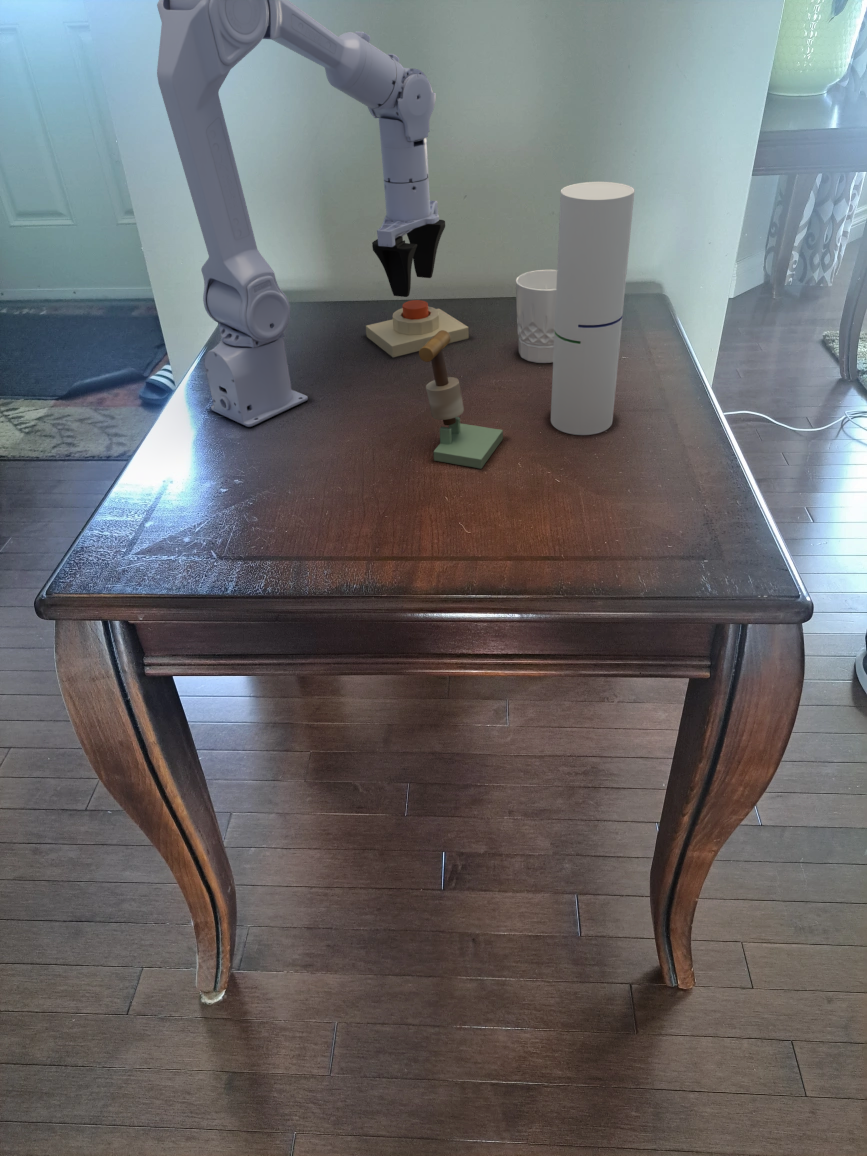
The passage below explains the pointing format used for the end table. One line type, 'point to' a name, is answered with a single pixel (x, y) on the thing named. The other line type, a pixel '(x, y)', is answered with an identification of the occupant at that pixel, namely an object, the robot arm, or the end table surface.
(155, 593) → the end table surface
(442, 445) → the stand
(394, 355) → the button box
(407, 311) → the call button
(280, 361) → the robot arm
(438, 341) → the t-handle lever
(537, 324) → the white cup
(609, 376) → the cylindrical container
